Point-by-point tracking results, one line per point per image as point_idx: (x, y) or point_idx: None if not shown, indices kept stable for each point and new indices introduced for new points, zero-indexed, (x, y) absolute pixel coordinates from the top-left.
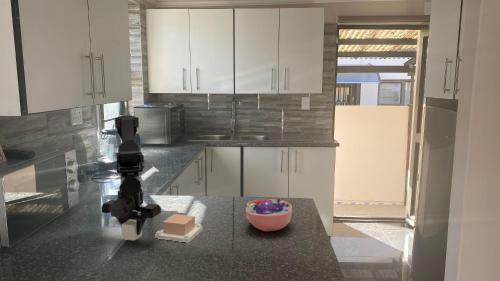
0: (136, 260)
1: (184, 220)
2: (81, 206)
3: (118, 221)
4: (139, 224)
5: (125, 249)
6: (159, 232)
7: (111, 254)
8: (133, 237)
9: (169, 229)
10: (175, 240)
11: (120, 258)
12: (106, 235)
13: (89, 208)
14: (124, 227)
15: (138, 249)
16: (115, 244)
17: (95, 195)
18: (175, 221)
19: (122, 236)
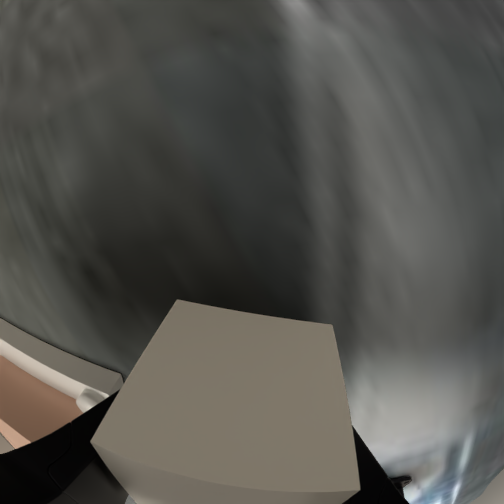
0: (66, 35)
1: (4, 431)
2: (500, 469)
3: (410, 476)
4: (45, 439)
5: (230, 173)
6: (78, 399)
7: (315, 47)
8: (172, 319)
9: (41, 405)
10: (19, 335)
11: (186, 3)
12: (462, 381)
13: (486, 473)
14: (299, 442)
15: (116, 199)
16: (381, 270)
17: (463, 500)
18: (15, 435)
19: (329, 342)
